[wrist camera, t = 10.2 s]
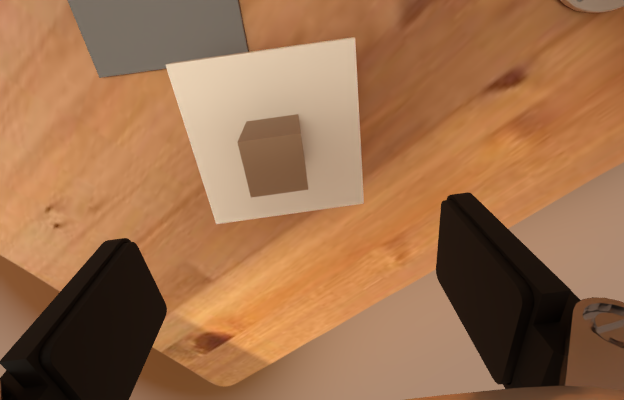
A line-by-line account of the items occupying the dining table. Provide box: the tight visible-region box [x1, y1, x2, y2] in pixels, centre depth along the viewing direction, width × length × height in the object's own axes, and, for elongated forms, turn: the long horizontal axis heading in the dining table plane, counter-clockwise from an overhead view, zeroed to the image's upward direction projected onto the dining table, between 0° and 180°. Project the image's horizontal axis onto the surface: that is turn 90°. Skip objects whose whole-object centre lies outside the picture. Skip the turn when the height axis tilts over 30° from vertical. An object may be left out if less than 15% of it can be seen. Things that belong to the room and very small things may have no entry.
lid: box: [166, 37, 364, 224], centre depth 22 cm, size 12×12×6 cm
